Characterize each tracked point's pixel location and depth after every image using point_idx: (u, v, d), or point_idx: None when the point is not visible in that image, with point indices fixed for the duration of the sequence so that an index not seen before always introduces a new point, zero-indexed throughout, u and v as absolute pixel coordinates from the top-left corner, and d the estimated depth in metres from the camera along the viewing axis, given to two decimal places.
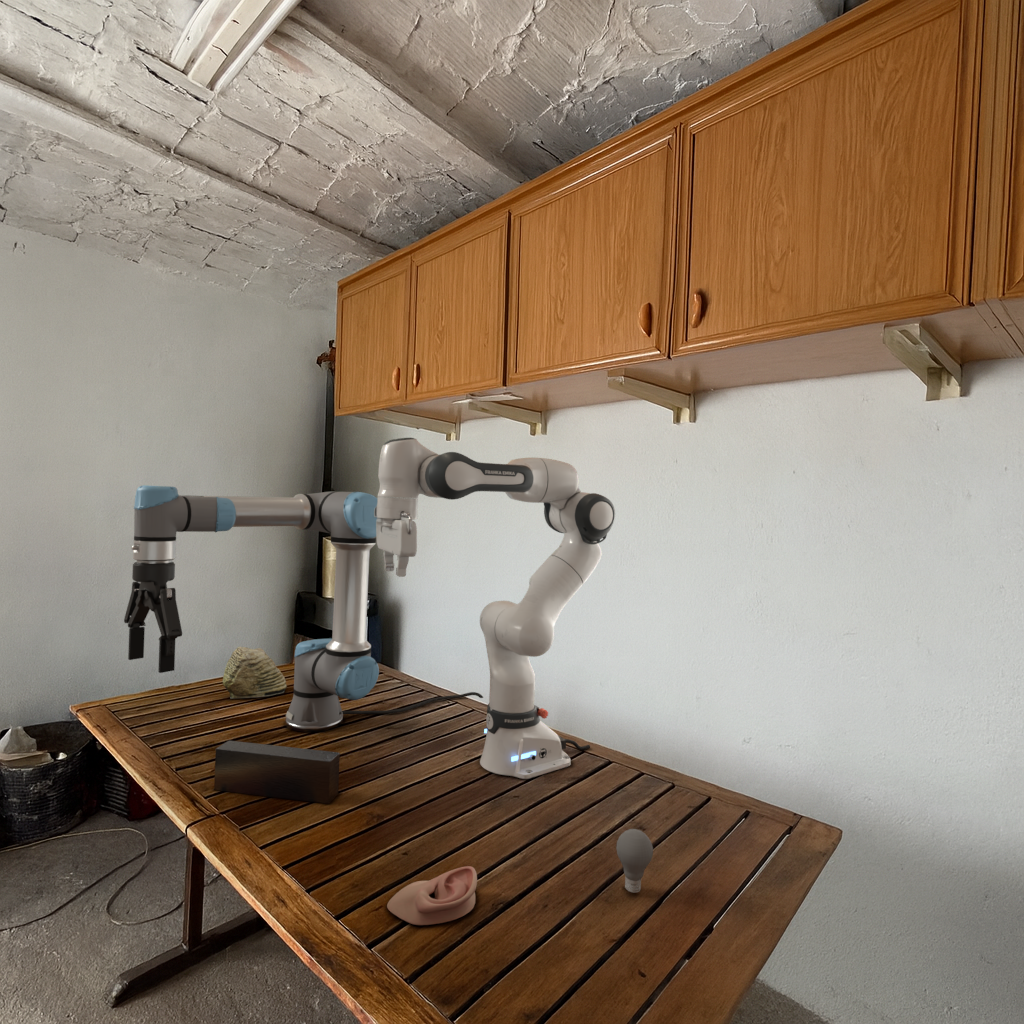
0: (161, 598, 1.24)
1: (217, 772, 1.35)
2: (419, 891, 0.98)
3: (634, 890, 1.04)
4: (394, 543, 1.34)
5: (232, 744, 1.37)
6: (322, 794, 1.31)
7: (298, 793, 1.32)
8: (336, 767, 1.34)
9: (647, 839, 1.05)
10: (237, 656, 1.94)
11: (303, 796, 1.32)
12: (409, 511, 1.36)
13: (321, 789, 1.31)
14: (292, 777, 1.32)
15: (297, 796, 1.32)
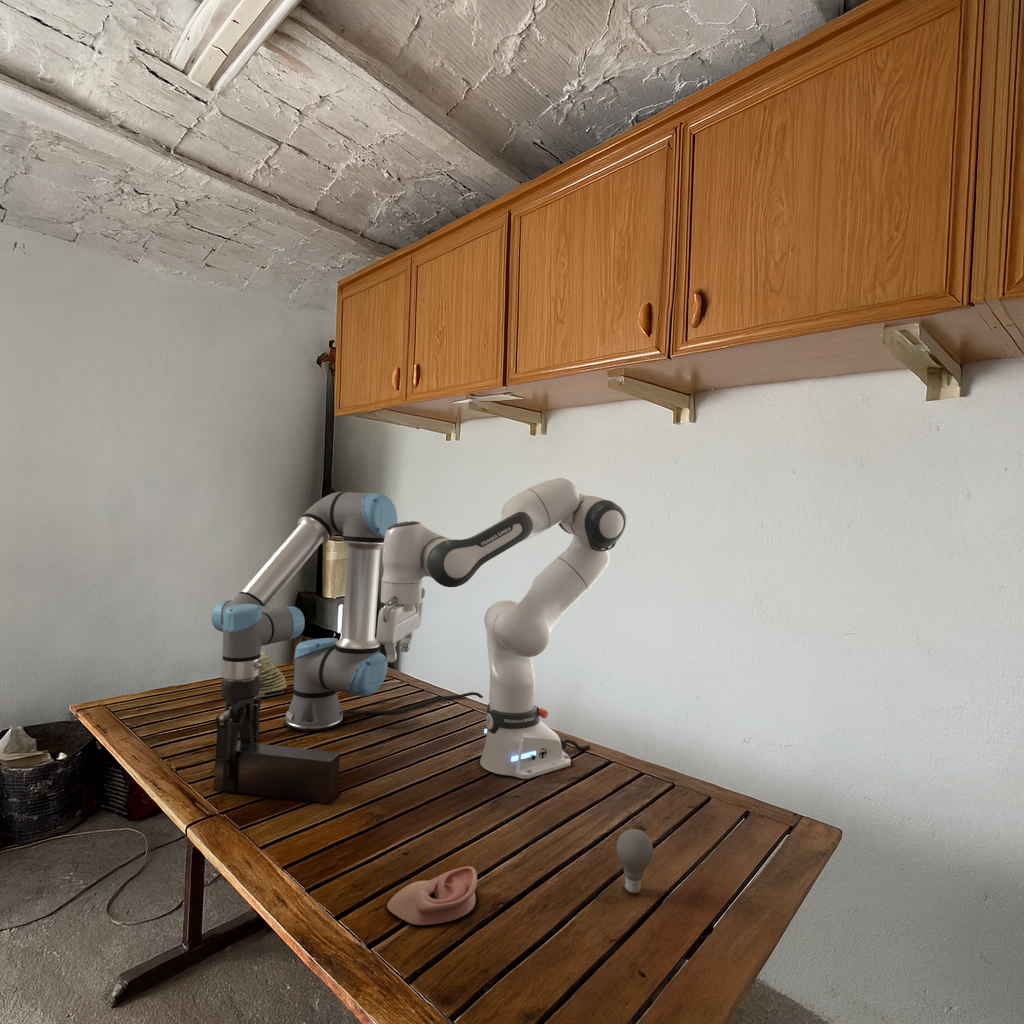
0: (258, 706, 1.42)
1: (217, 772, 1.35)
2: (419, 891, 0.98)
3: (634, 890, 1.04)
4: None
5: None
6: (322, 794, 1.31)
7: (298, 793, 1.32)
8: (336, 767, 1.34)
9: (647, 839, 1.05)
10: None
11: (303, 796, 1.32)
12: (401, 597, 1.36)
13: (321, 789, 1.31)
14: (292, 777, 1.32)
15: (297, 796, 1.32)
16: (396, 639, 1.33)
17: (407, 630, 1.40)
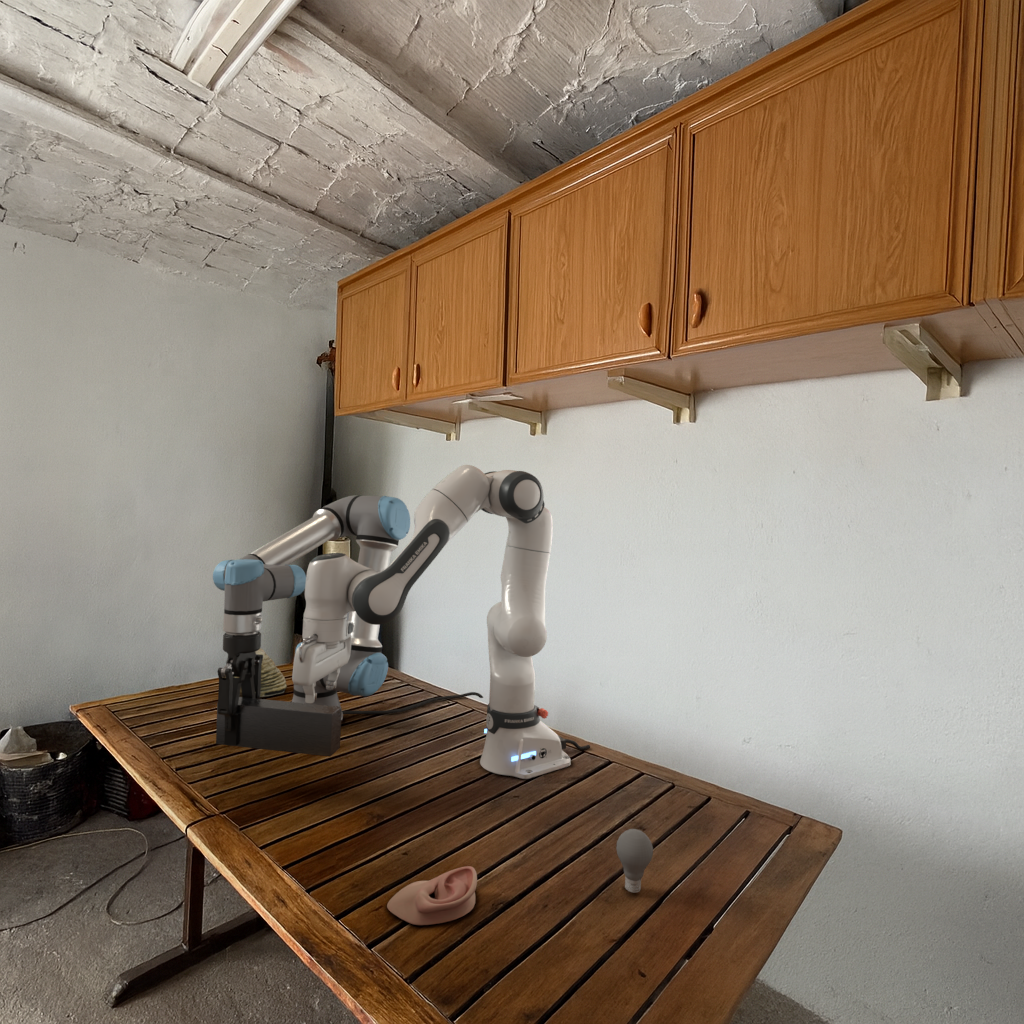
0: (260, 663, 1.41)
1: (219, 726, 1.34)
2: (419, 891, 0.98)
3: (634, 890, 1.04)
4: None
5: None
6: (324, 747, 1.31)
7: (300, 746, 1.32)
8: (338, 720, 1.34)
9: (647, 839, 1.05)
10: None
11: (305, 749, 1.31)
12: (322, 634, 1.29)
13: (323, 742, 1.31)
14: (293, 730, 1.32)
15: (299, 749, 1.32)
16: (314, 680, 1.26)
17: (330, 668, 1.33)
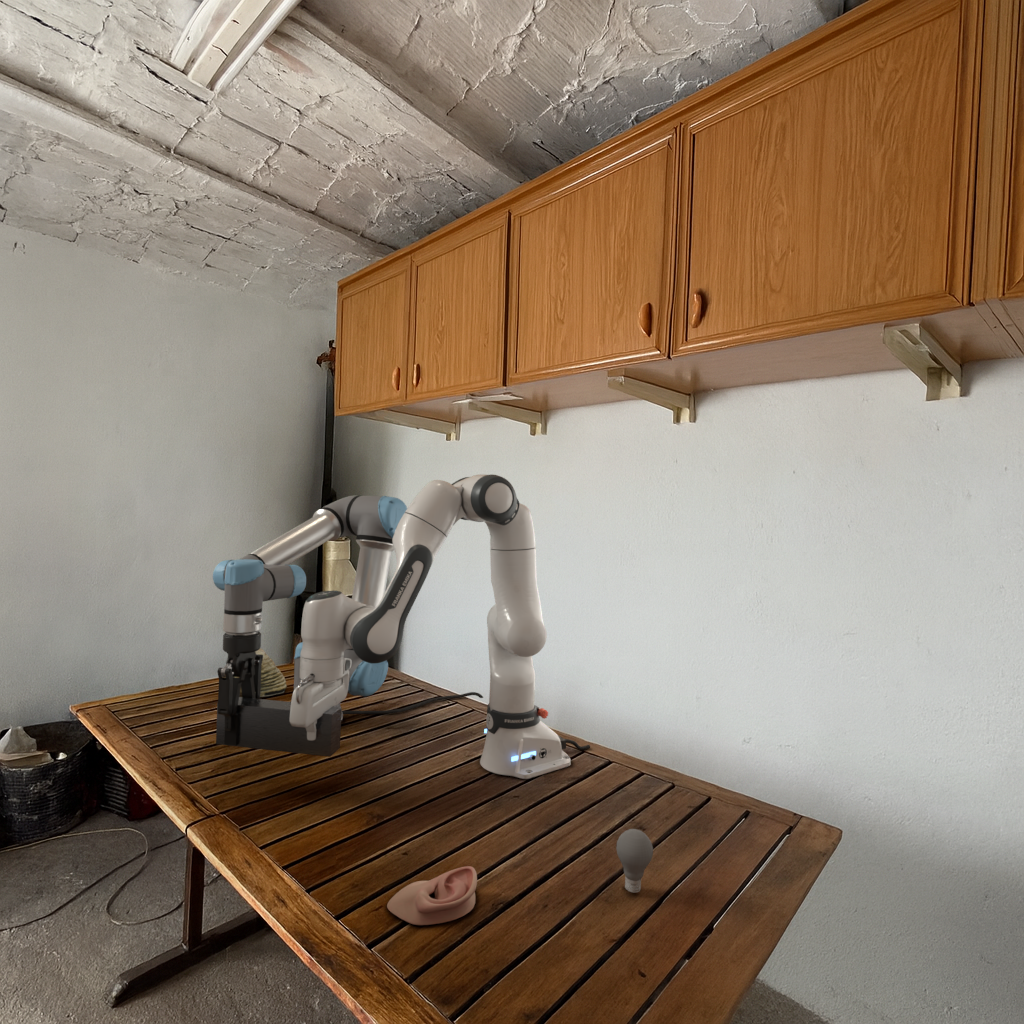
0: (260, 663, 1.41)
1: (219, 726, 1.34)
2: (419, 891, 0.98)
3: (634, 890, 1.04)
4: None
5: None
6: (324, 747, 1.31)
7: (300, 746, 1.32)
8: (338, 721, 1.34)
9: (647, 839, 1.05)
10: None
11: (305, 749, 1.31)
12: (319, 673, 1.29)
13: (323, 742, 1.31)
14: (293, 731, 1.32)
15: (299, 749, 1.32)
16: (311, 720, 1.26)
17: (328, 706, 1.33)
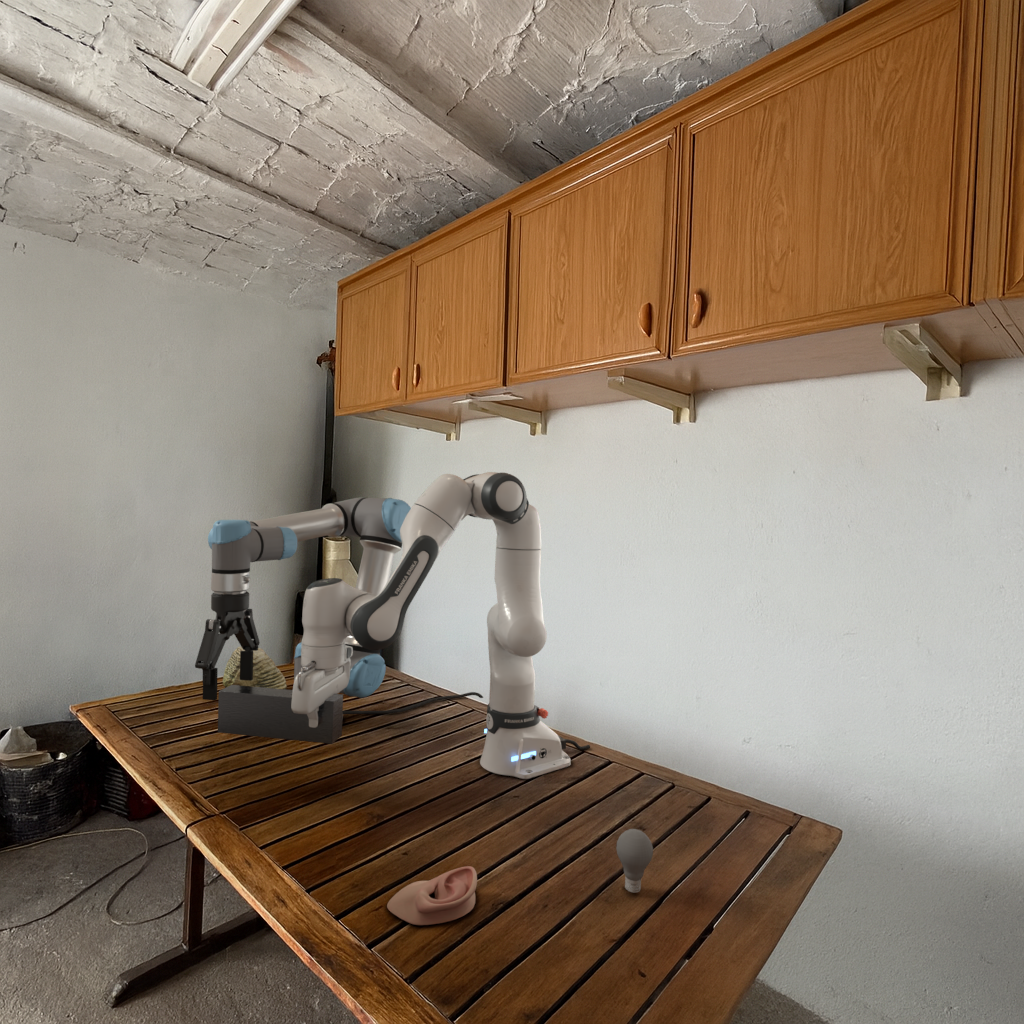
0: (251, 617, 1.43)
1: (220, 714, 1.34)
2: (419, 891, 0.98)
3: (634, 890, 1.04)
4: None
5: (235, 688, 1.37)
6: (326, 734, 1.31)
7: (302, 734, 1.32)
8: (339, 708, 1.34)
9: (647, 839, 1.05)
10: (237, 656, 1.94)
11: (307, 737, 1.31)
12: (321, 660, 1.29)
13: (325, 730, 1.31)
14: (295, 718, 1.32)
15: (301, 736, 1.32)
16: (313, 707, 1.26)
17: (329, 694, 1.33)
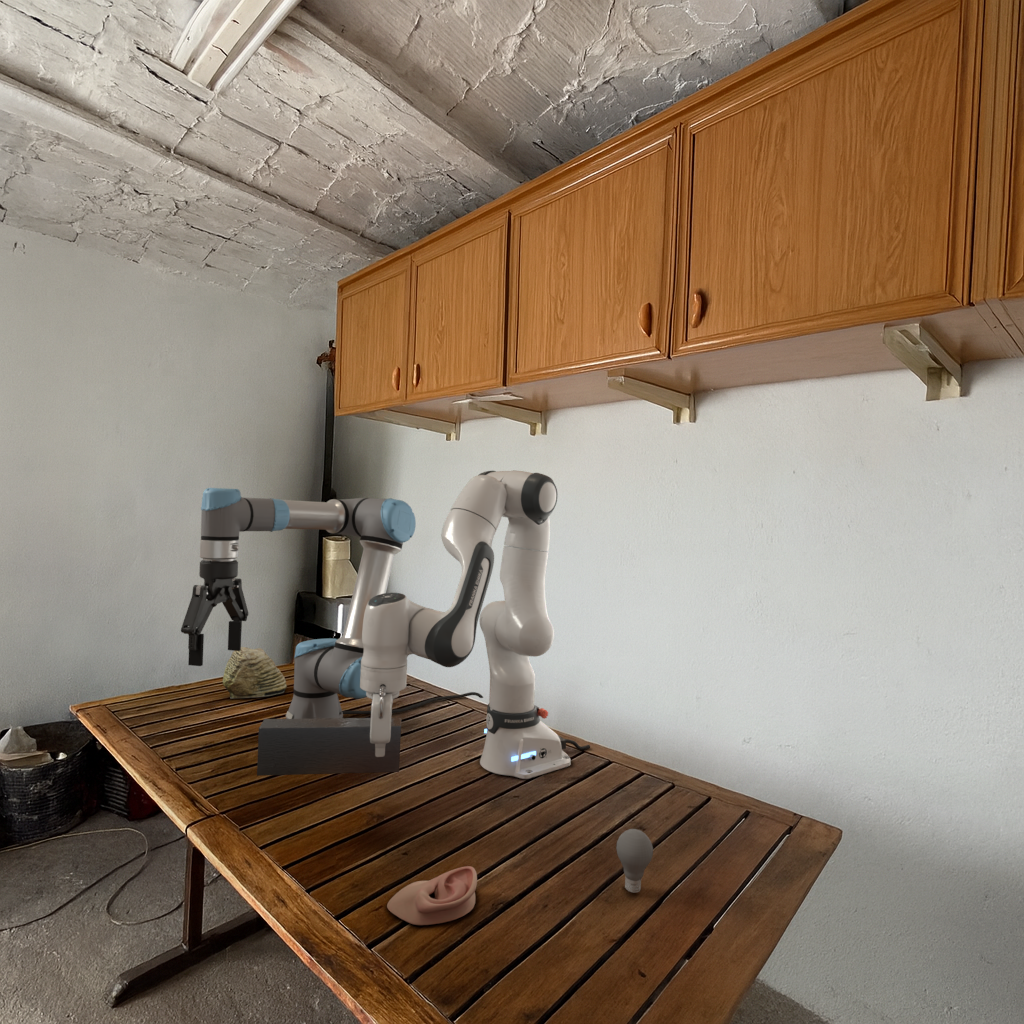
0: (240, 586, 1.43)
1: (261, 755, 1.17)
2: (419, 891, 0.98)
3: (634, 890, 1.04)
4: None
5: (274, 722, 1.19)
6: (391, 762, 1.21)
7: (363, 765, 1.20)
8: None
9: (647, 839, 1.05)
10: (237, 656, 1.94)
11: (369, 768, 1.20)
12: (391, 683, 1.19)
13: (391, 758, 1.21)
14: (355, 749, 1.19)
15: (362, 768, 1.20)
16: None
17: None
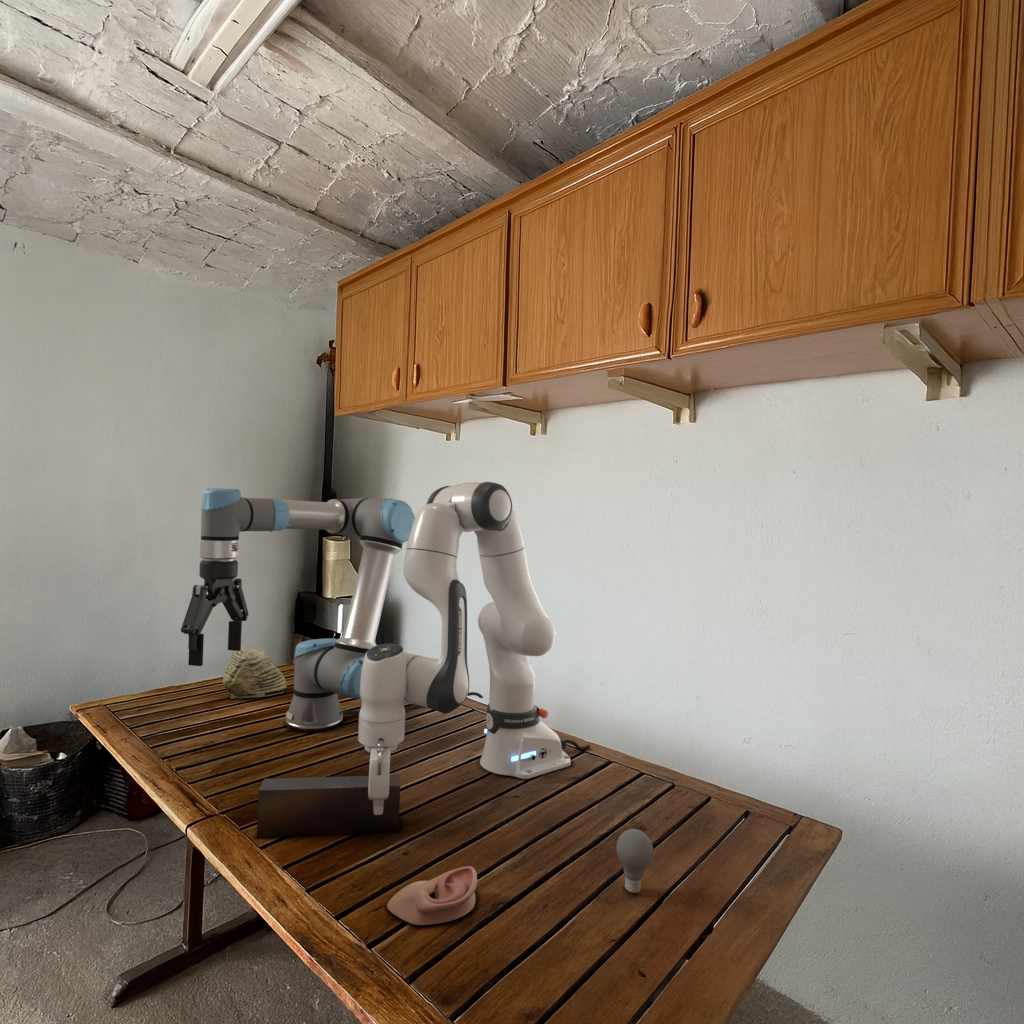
0: (240, 586, 1.43)
1: (261, 817, 1.17)
2: (419, 891, 0.98)
3: (634, 890, 1.04)
4: None
5: (274, 783, 1.20)
6: (391, 822, 1.21)
7: (363, 825, 1.20)
8: None
9: (647, 839, 1.05)
10: (237, 656, 1.94)
11: (369, 827, 1.20)
12: (389, 737, 1.19)
13: (390, 817, 1.21)
14: (355, 809, 1.20)
15: (361, 828, 1.20)
16: None
17: None
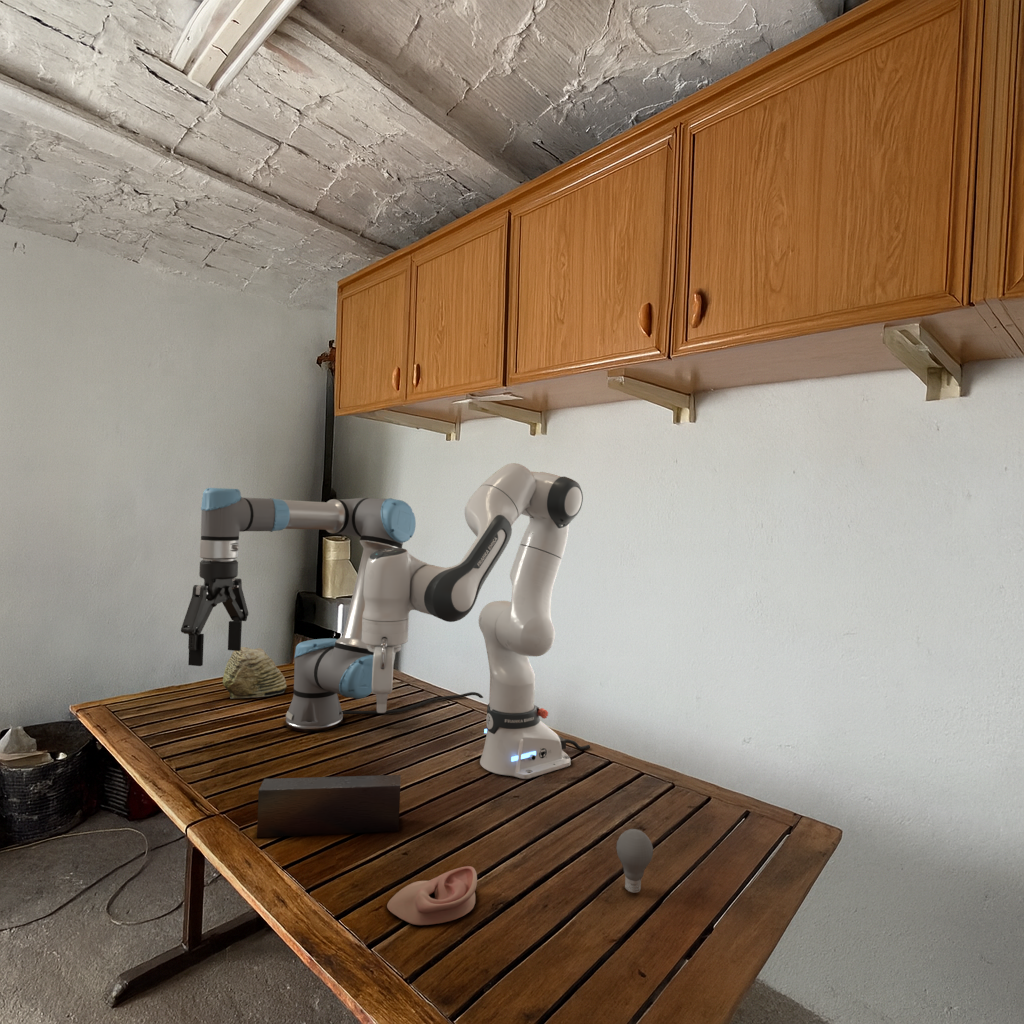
0: (240, 586, 1.43)
1: (261, 817, 1.17)
2: (419, 891, 0.98)
3: (634, 890, 1.04)
4: None
5: (274, 783, 1.20)
6: (391, 822, 1.21)
7: (363, 825, 1.20)
8: None
9: (647, 839, 1.05)
10: (237, 656, 1.94)
11: (369, 827, 1.20)
12: (392, 636, 1.18)
13: (390, 817, 1.21)
14: (355, 809, 1.20)
15: (361, 828, 1.20)
16: None
17: None
